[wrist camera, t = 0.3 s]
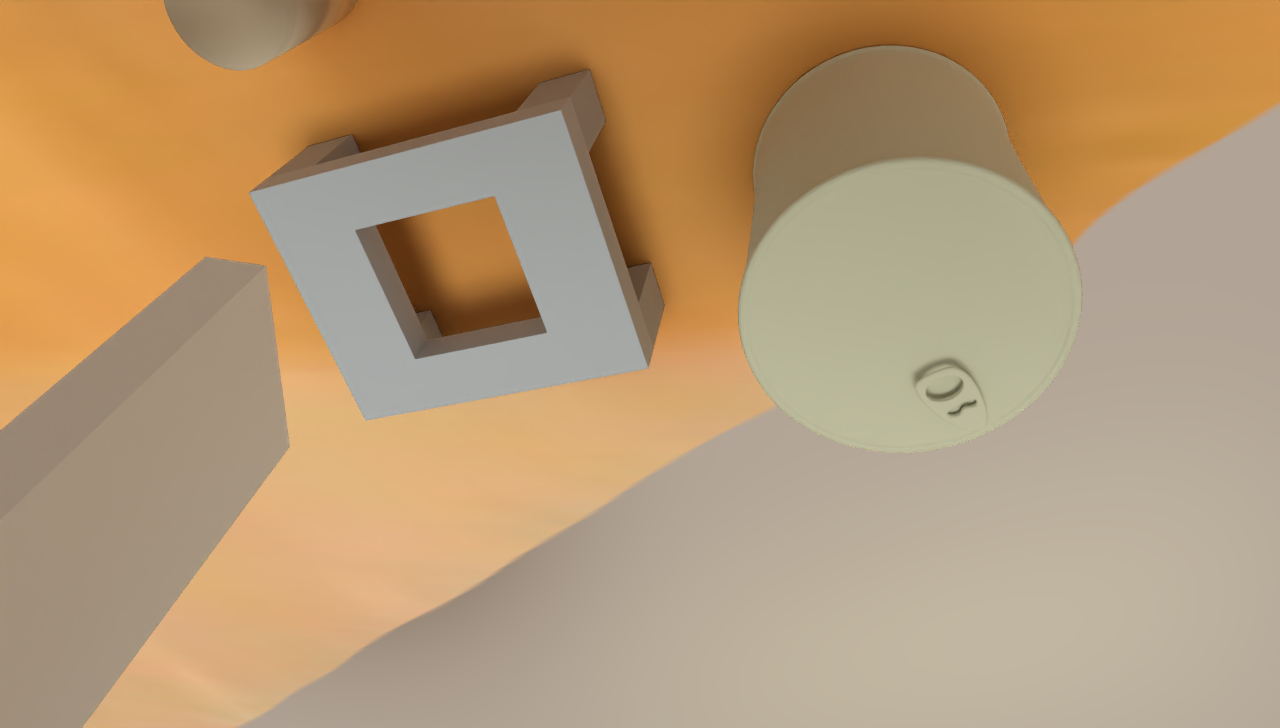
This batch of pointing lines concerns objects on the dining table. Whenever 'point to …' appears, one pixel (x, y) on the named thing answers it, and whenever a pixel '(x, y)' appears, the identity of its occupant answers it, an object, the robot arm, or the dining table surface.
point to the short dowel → (251, 27)
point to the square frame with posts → (537, 224)
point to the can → (901, 258)
